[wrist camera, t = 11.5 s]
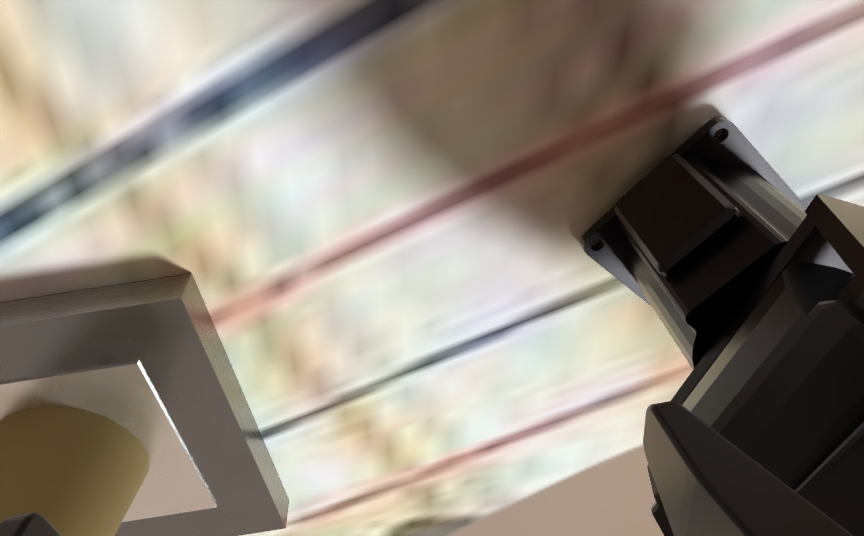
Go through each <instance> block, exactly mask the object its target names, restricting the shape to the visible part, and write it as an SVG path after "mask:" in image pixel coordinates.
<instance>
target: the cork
mask: <svg viewBox="0 0 864 536" xmlns="http://www.w3.org/2000/svg"><path fill="white" fill-rule="evenodd" d="M148 461H149V458H148V456H147V454H146V451H145V449H144V447H143V445H142V443H141V442H140V441H139V440H138V439H137V438H136V437H135V436H134V435H133V434H132V433H131V432H130V431H129V430H128V429H127V428H125V427H123V426H121V425H119V424H118V423H116V422H114V421H112V420H111V419H109V418H107V417H105V416H102V415H98V414H95V413H92V412H89V411H86V410H82V409H77V408H68V407H59V406H47V407H36V408H27V409H24V410H22V411H19V412H16V413H13V414H10V415H8V416H6V417H5V418H3V419H2V420H1V421H0V523H1V522H2V521H3V520H5V519H6V518H8V517H11V516H14V515H19V514H25V513H31V512H38V513H41V514H42V515H43V516H44V517H45V518H46V519H47V520H48V521H49V522H50V523H51V524H52V525H53V527H54V528H55V529H56V530H57V531H58V532H59V533H60V534H61V536H114V535H115V534H116V532H117V530H118V528H119V526H120V524H121V522H122V520H123V519H124V517H125V515H126V513H127V511H128V509H129V507H130V505H131V504H132V502H133V500H134V498H135V496H136V494H137V492H138V490H139V489H140V487H141V485H142V483H143V481H144V479H145V477H146V475H147V473H148Z"/></svg>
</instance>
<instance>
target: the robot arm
mask: <svg viewBox="0 0 864 536" xmlns="http://www.w3.org/2000/svg"><path fill="white" fill-rule="evenodd" d="M721 128H723V130H722V133H721V134H720V136H718V137H716V138H714V134H715V133H716V131H717V130H719V129H721ZM598 239H600V241H599V243H598V244H596V245H591V243H592V242H593V241H595V240H598ZM581 246H582V247H583V249H584V251H585V252H586V254H587V255H589V256H590V257H591V258H592V259H594V260H595V261H596V262H597V263H598V264H600V265H601V266H602V267H603V268H605V269H606V270H607V271H608V272H610V273H611V274H612V275H613V276H615V277H616V278H617V279H618V280H620V281H621V282H622V283H623V284H625V285H626V286H627V287H628V288H629V289H631V290H632V291H633V292H634V293H636V294H637V295H638V296H639V297H641V298H642V299H643V300H644V301H646V302H647V303H648V304H649V305H651V306H652V307H653V309H654V310H655V312H656V313H657V315H658V316H659V318H660V319H661V321H662V322H663V324H664V325H665V327H666V329H667V330H668V332H669V333H670V335H671V336H672V338H673V339H674V341H675V342H676V344H677V345H678V347H679V349H680V350H681V352H682V353H683V355H684V356H685V358H686V359H687V361H688V362H689V364H690V365H691V367H692V369H693V371H692V372H691V374H690V375H689V377H688V378H687V379H686V381H685V382H684V383H683V385H682V386H681V387H680V389H679V390H678V392H677V393H676V394H675V396H674V397H673V398H672V400H671V401H669V402H663V403H657V404H652V405H650V406H649V407H648V408H647V411H646V418H645V428H644V437H643V445H644V451H645V455H646V458H647V461H648V472H649V476H650V480H651V485H652V489H653V494H654V497H655V499H656V502H655V503H654V504H653V505H652V509H651V510H652V514H653V516H654V518H655V520H656V522H657V523H658V525H659V527H660V529H661V530H662V532H663V534H664V536H864V207H863V206H859V205H856V204H853V203H849V202H846V201H842V200H839V199H835V198H832V197H829V196H825V195H822V194H817V195H816V196H815V198H814V199H813V200H812V202H811V203H810V205H809V206H808V207H806V206H805V205H804V204H803V203H802V202H801V201H800V199H799V198H798V197H797V196H796V195H795V194H794V193H793V191H792V190H791V189H790V188H789V187H788V186H787V185H786V183H785V182H784V181H783V180H782V179H781V178H780V177H779V175H778V174H777V173H776V172H775V171H774V170H773V169H772V167H771V166H770V165H769V164H768V163H767V162H766V161H765V159H764V158H763V157H762V156H761V155H760V154H759V153H758V151H757V150H756V149H755V148H754V147H753V146H752V145H751V143H750V142H749V141H748V140H747V139H746V138H745V137H744V135H743V134H742V133H741V132H740V131H739V130H738V129H737V127H736V126H735V125H734V124H733V123H731V122H730V121H728V120H727V119H725V118H724V117H716V118H713V119H711V120H710V121H708V122H707V123H706V124H705V125H704V126H702V127H701V128H700V129H699V130H698V131H697V132H696V133H695V134H694V135H693V136H691V137H690V138H689V139H688V140H687V141H686V142H685V143H684V144H683V145H681V146H680V147H679V148H678V149H677V150H676V151H675V152H674V153H673V154H672V155H670V156H668V157H667V158H665V159H664V160H663V161H662V162H661V163H660V164H659V165H658V166H657V167H656V168H654V169H653V170H652V171H651V172H650V173H649V174H648V175H647V176H646V177H644V178H643V179H642V180H641V181H640V182H639V183H638V184H637V185H636V186H635V187H633V188H632V189H631V190H630V191H629V192H628V193H627V194H626V195H625V196H624V197H622V198H621V199H620V200H619V201H618V202H617V203H616V205H615V206H614V207H613V208H612V209H611V210H610V211H609V212H607V213H606V214H605V215H604V216H603V217H602V218H601V219H600V220H599V221H597V222H596V223H595V224H594V225H593V226H592V227H591V228H590V229H589V230H588V231H586V232H585V233H584V235H583V236H582V238H581ZM0 536H61V534H60V533H59V532H58V531H57V530H56V529H55V528H54V527H53V525H52V524H51V523H50V522H49V521H48V520H47V519H46V518H45V517H44V516H43V515H42V514H41V513H38V512H31V513H25V514H19V515H14V516H11V517H8V518H6V519H5V520H3V521H2V522H1V523H0Z"/></svg>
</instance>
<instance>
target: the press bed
mask: <svg viewBox="0 0 864 536" xmlns="http://www.w3.org/2000/svg"><path fill="white" fill-rule="evenodd" d="M47 406H59V407H68V408H77V409H82V410H86V411H89V412H92V413H95V414H98V415H102V416H105V417H107V418H109V419H111V420H112V421H114V422H116V423H118V424H119V425H121V426H123V427H125V428H127V429H128V430H129V431H130V432H131V433H132V434H133V435H134V436H135V437H136V438H137V439H138V440H139V441H140V442H141V443H142V445H143V447H144V449H145V451H146V454H147V456H148V458H149V461H148V473H147V475H146V477H145V479H144V481H143V483H142V485H141V487H140V489H139V490H138V492H137V494H136V496H135V498H134V500H133V502H132V504H131V505H130V507H129V509H128V511H127V513H126V515H125V517H124V519H123V520H122V522H121V524H120V526H119V528H118V530H117V532H116V534H115V535H114V536H239V535H245V534H252V533H258V532H264V531H271V530H277V529H283V528H286V522H287V514H288V505H289V499H288V497H287V495H286V492H285V490H284V488H283V485H282V483H281V481H280V478H279V476H278V474H277V471H276V469H275V467H274V464H273V462H272V460H271V457H270V455H269V453H268V450H267V448H266V446H265V443H264V441H263V439H262V436H261V434H260V432H259V429H258V427H257V425H256V422H255V420H254V418H253V415H252V413H251V411H250V408H249V406H248V404H247V401H246V399H245V397H244V394H243V392H242V390H241V387H240V385H239V383H238V380H237V378H236V376H235V373H234V371H233V369H232V366H231V364H230V362H229V359H228V357H227V355H226V352H225V350H224V348H223V345H222V343H221V341H220V338H219V336H218V334H217V332H216V329H215V327H214V325H213V322H212V320H211V318H210V315H209V313H208V311H207V308H206V306H205V304H204V301H203V299H202V297H201V294H200V292H199V290H198V287H197V285H196V283H195V280H194V278H193V276H192V274H186V275H179V276H173V277H166V278H159V279H153V280H146V281H140V282H133V283H127V284H120V285H113V286H107V287H100V288H94V289H87V290H81V291H74V292H67V293H61V294H54V295H48V296H41V297H35V298H28V299H22V300H15V301H8V302H2V303H0V421H1V420H2V419H3V418H5V417H6V416H8V415H10V414H13V413H16V412H19V411H22V410H24V409H27V408H36V407H47Z"/></svg>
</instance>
